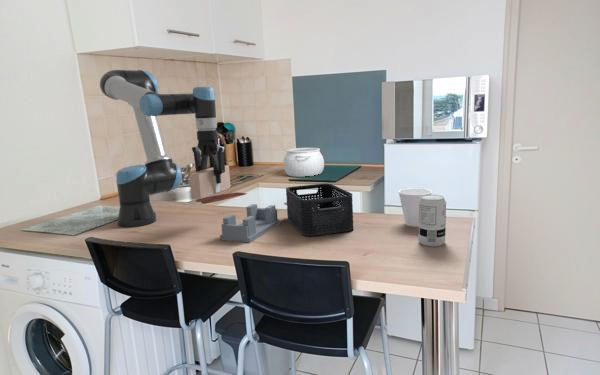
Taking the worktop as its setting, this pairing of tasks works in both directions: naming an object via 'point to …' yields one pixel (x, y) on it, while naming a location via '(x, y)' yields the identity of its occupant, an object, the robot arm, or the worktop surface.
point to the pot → (303, 162)
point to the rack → (250, 224)
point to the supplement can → (432, 220)
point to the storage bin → (320, 210)
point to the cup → (412, 204)
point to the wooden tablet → (219, 197)
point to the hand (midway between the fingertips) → (212, 191)
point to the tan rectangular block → (207, 182)
